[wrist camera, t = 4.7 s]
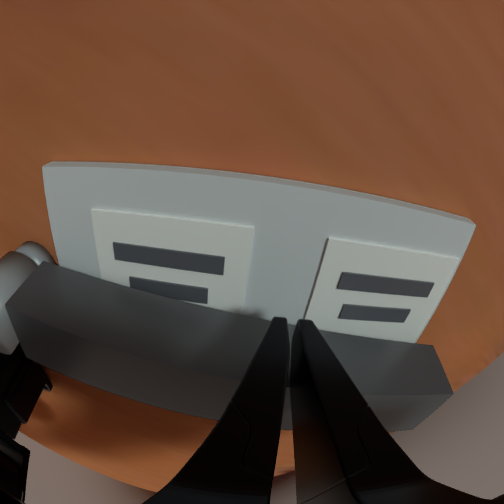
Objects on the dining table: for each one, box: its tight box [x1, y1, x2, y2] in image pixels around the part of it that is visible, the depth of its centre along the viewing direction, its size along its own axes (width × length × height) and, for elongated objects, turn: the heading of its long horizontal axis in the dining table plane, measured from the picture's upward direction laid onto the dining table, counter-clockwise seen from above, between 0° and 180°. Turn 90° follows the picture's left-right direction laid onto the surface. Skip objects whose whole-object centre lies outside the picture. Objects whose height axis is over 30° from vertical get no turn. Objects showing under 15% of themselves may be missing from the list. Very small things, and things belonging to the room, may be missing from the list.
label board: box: [16, 162, 476, 343], centre depth 11 cm, size 19×10×1 cm, turn 83°
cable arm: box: [0, 251, 453, 432], centre depth 10 cm, size 20×3×3 cm, turn 76°
